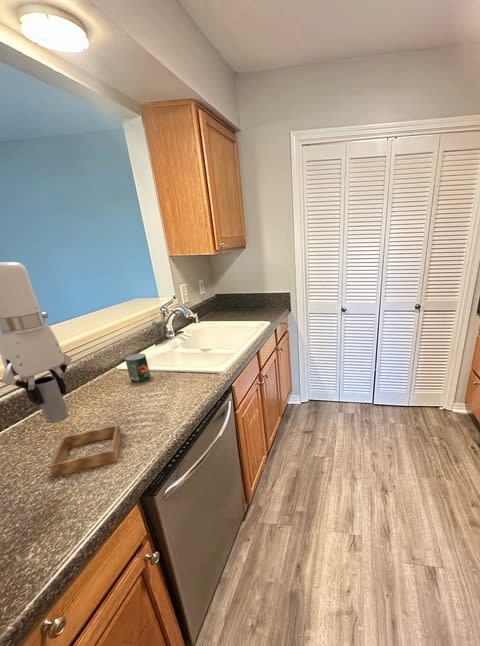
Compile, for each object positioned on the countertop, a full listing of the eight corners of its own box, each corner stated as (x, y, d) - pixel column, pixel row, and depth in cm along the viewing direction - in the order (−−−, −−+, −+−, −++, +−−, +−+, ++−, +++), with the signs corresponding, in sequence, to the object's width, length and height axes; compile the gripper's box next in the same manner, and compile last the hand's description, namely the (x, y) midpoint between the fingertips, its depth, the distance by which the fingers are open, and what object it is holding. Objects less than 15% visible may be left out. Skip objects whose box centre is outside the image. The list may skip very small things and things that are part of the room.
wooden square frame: (53, 477, 83) (48, 466, 81) (66, 446, 95) (62, 436, 94) (117, 461, 88) (113, 450, 87) (121, 433, 100) (118, 424, 99)
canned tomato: (132, 378, 141) (126, 354, 137) (152, 375, 143) (146, 352, 139) (129, 385, 134) (123, 361, 130) (150, 382, 136) (144, 358, 132)
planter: (63, 422, 77) (49, 382, 73) (42, 424, 76) (26, 385, 72) (72, 412, 81) (59, 375, 77) (52, 415, 80) (38, 377, 76)
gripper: (50, 313, 78) (73, 381, 85) (-38, 332, 63) (-2, 413, 70) (72, 314, 75) (93, 385, 82) (-15, 334, 61) (21, 418, 68)
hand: (49, 397), depth 76 cm, fingers closed on planter, 4 cm apart
